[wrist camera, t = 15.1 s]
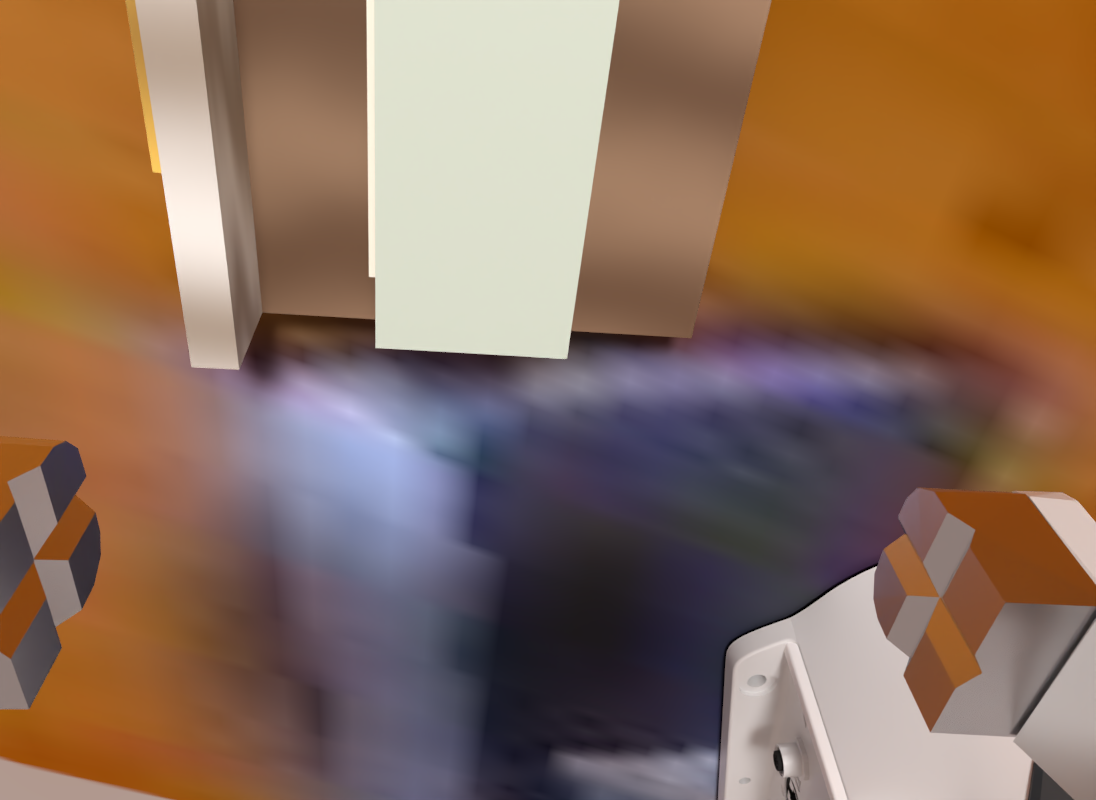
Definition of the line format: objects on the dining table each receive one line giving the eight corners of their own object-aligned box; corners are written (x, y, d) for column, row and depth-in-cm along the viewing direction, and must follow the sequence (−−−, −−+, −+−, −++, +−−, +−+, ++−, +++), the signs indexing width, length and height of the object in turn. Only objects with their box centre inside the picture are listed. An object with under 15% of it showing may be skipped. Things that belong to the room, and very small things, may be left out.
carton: (584, -108, 19) (628, -64, 14) (545, 223, 24) (566, 359, 18) (393, -132, 19) (357, -96, 13) (390, 210, 23) (363, 347, 18)
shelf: (679, 306, 28) (713, 394, 24) (221, 277, 26) (175, 366, 22) (807, -273, 20) (893, -288, 16) (143, -370, 18) (45, -416, 14)
